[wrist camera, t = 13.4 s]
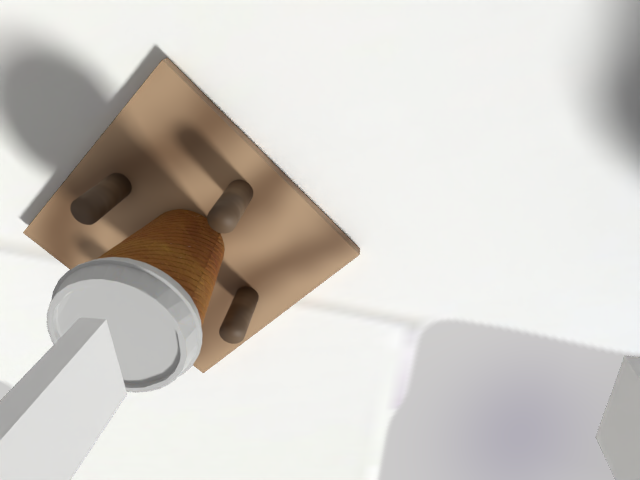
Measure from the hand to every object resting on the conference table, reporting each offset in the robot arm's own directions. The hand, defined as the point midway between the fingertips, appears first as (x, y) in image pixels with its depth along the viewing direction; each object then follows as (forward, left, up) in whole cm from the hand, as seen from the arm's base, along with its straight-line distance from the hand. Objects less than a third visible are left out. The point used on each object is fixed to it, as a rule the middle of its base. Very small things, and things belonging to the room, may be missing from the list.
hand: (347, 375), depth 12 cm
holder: (+3, +17, -25) cm, 30 cm away
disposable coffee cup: (+3, +17, -24) cm, 29 cm away
